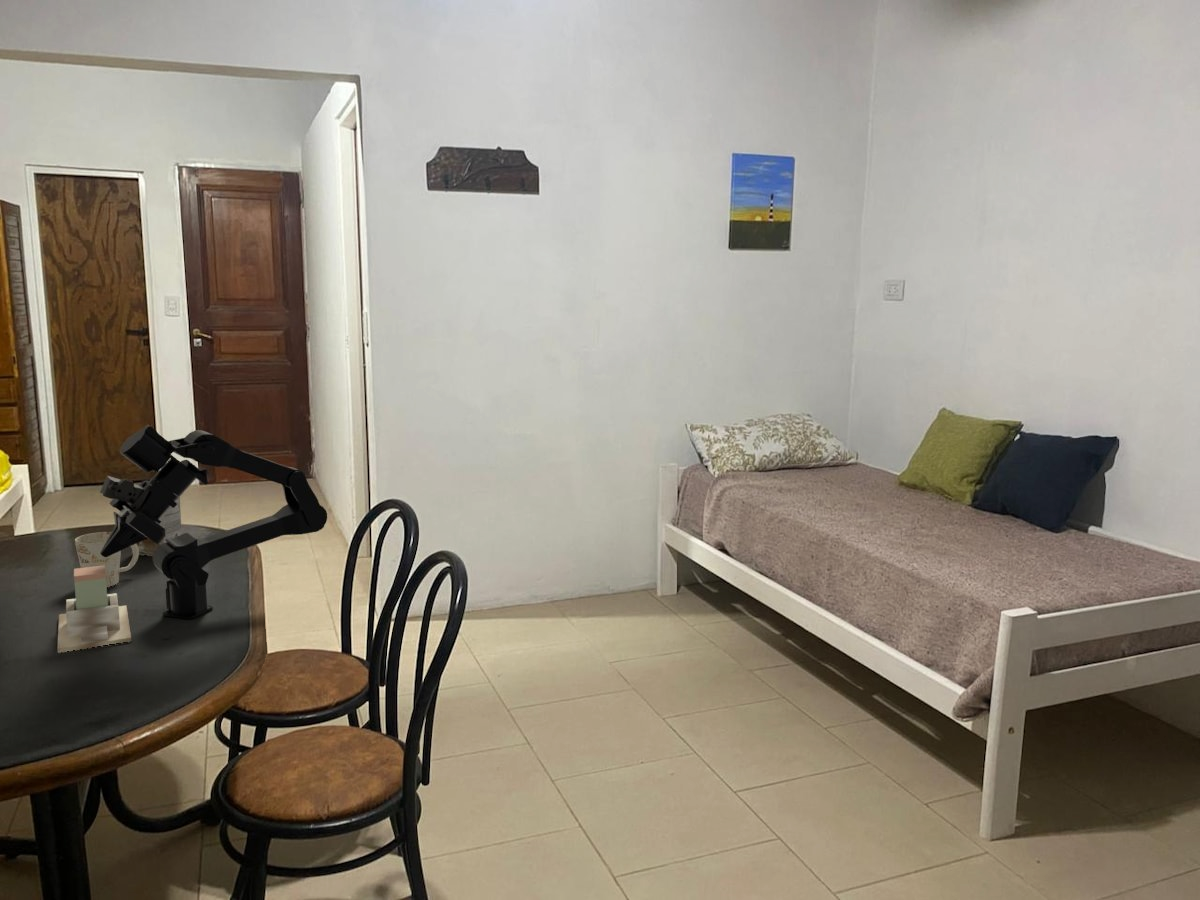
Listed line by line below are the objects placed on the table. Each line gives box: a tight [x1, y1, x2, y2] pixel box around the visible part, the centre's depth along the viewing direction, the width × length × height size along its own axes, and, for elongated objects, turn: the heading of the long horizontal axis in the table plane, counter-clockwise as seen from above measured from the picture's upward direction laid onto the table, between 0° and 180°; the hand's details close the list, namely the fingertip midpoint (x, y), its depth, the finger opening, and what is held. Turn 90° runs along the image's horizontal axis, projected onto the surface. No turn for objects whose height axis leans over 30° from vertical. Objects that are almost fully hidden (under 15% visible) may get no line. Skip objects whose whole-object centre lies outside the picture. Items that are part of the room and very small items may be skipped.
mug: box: [74, 531, 140, 588], centre depth 188 cm, size 8×13×10 cm, turn 152°
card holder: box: [57, 592, 132, 654], centre depth 163 cm, size 11×18×5 cm, turn 29°
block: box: [73, 565, 108, 610], centre depth 162 cm, size 5×5×8 cm
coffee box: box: [131, 480, 183, 557], centre depth 208 cm, size 9×6×16 cm
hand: (102, 555), depth 162 cm, fingers closed
